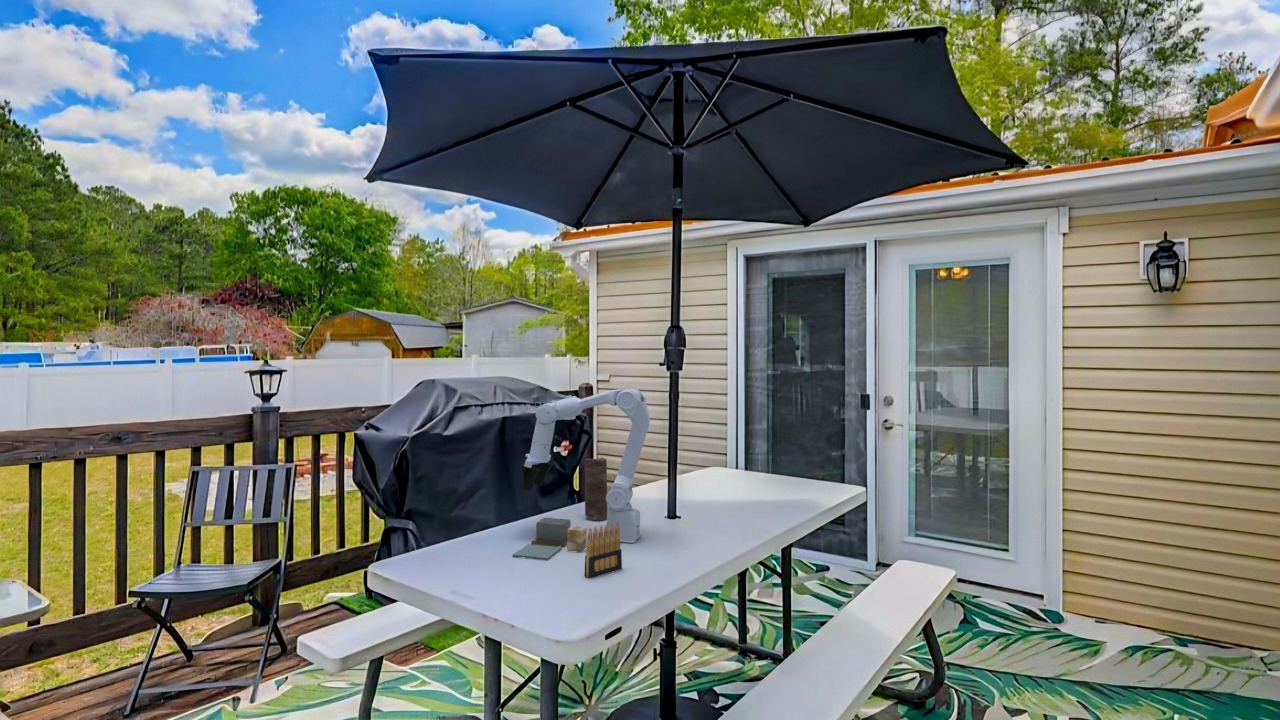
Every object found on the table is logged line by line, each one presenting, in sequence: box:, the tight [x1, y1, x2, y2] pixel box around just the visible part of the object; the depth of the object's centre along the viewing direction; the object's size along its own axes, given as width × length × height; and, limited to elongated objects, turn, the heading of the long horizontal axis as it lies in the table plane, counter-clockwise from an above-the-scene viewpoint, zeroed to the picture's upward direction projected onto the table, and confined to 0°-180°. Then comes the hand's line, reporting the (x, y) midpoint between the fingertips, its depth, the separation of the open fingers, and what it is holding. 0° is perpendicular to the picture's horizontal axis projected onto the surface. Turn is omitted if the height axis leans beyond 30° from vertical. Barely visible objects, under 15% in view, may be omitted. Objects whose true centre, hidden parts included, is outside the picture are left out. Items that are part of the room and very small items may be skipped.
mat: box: [512, 543, 563, 561], centre depth 182 cm, size 10×10×1 cm
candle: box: [584, 457, 608, 522], centre depth 220 cm, size 8×7×20 cm
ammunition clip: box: [583, 522, 623, 579], centre depth 167 cm, size 11×2×12 cm, turn 133°
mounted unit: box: [530, 517, 571, 548], centre depth 193 cm, size 10×8×6 cm
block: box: [566, 525, 587, 553], centre depth 186 cm, size 4×4×6 cm
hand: (532, 487), depth 202 cm, fingers open, 7 cm apart
